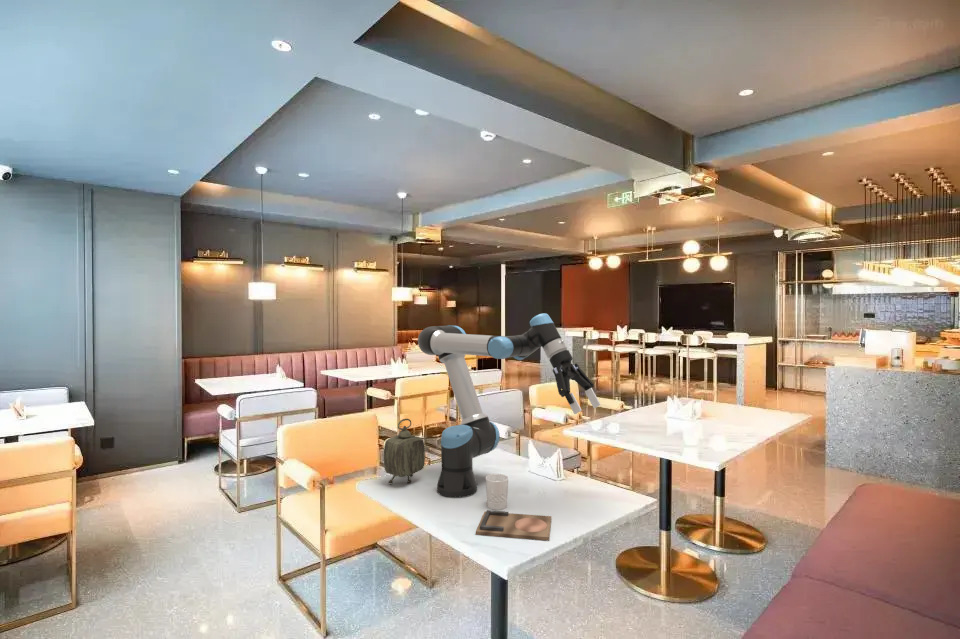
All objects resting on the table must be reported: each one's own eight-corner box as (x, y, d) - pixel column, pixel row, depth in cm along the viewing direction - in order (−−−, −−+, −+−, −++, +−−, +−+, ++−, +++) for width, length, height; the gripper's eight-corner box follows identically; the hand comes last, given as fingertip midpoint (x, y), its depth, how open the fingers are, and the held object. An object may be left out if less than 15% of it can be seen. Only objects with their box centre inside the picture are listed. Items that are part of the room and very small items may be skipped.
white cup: (506, 511, 168) (506, 482, 168) (483, 509, 170) (483, 480, 169) (509, 502, 176) (509, 474, 175) (487, 501, 177) (487, 473, 177)
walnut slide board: (475, 534, 151) (475, 528, 151) (484, 514, 166) (484, 508, 166) (549, 540, 147) (549, 534, 147) (551, 519, 162) (551, 513, 162)
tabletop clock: (411, 474, 205) (411, 414, 204) (427, 479, 199) (426, 417, 199) (383, 484, 194) (383, 420, 193) (399, 490, 188) (398, 424, 188)
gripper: (546, 350, 162) (578, 409, 155) (583, 347, 182) (613, 399, 174) (530, 362, 166) (560, 420, 159) (568, 357, 186) (596, 408, 179)
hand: (588, 409), depth 167 cm, fingers open, 13 cm apart
